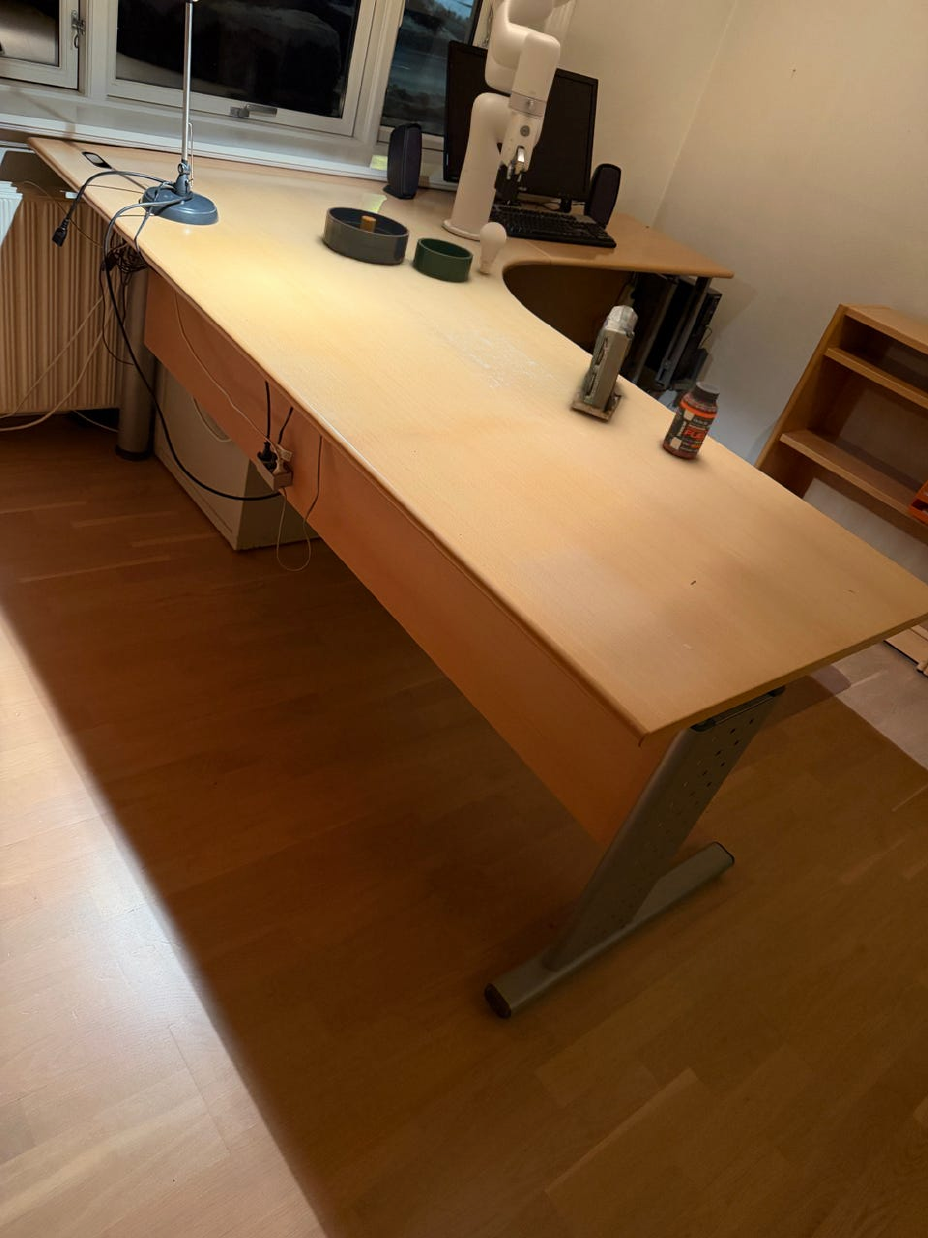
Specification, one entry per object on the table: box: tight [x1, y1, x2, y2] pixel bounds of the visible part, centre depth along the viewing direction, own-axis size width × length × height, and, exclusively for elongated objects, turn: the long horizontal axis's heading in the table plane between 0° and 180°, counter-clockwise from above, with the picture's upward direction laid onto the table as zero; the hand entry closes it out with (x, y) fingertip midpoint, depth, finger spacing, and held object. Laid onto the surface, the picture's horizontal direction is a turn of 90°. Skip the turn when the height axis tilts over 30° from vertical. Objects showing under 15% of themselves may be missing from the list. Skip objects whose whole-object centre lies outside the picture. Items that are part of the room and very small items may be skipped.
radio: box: [571, 304, 639, 421], centre depth 144 cm, size 23×9×15 cm, turn 158°
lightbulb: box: [479, 221, 508, 274], centre depth 189 cm, size 6×6×11 cm
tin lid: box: [360, 216, 376, 233], centre depth 179 cm, size 13×13×6 cm
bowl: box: [322, 206, 411, 265], centre depth 180 cm, size 18×18×6 cm
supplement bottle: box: [662, 381, 721, 459], centre depth 134 cm, size 6×6×11 cm
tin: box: [412, 237, 474, 283], centre depth 182 cm, size 12×13×5 cm
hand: (503, 194), depth 182 cm, fingers open, 9 cm apart
